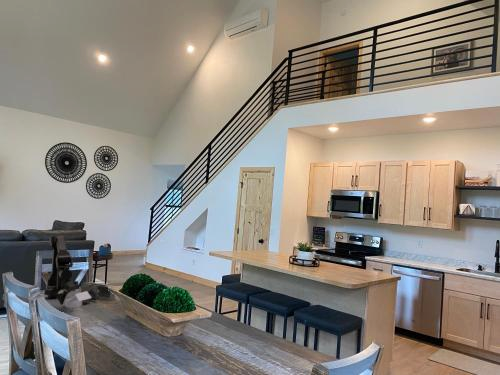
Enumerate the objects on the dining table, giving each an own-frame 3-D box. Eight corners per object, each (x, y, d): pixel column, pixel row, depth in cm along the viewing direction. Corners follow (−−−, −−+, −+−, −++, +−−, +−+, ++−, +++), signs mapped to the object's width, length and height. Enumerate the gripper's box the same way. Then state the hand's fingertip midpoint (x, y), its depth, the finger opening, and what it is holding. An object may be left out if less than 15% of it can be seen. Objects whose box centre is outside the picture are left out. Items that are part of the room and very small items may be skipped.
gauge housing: (82, 296, 233) (83, 283, 233) (87, 294, 237) (88, 281, 237) (110, 300, 225) (110, 287, 225) (114, 299, 228) (115, 285, 229)
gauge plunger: (77, 297, 226) (77, 283, 226) (85, 294, 232) (86, 281, 232) (99, 301, 220) (100, 287, 220) (107, 298, 226) (107, 284, 226)
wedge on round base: (81, 300, 223) (62, 306, 211) (82, 289, 223) (62, 294, 212) (91, 303, 218) (71, 308, 207) (91, 292, 219) (72, 297, 207)
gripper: (59, 281, 194) (57, 311, 193) (86, 275, 211) (85, 302, 211) (44, 279, 198) (42, 308, 197) (72, 273, 215) (71, 299, 215)
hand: (61, 304), depth 205 cm, fingers closed
